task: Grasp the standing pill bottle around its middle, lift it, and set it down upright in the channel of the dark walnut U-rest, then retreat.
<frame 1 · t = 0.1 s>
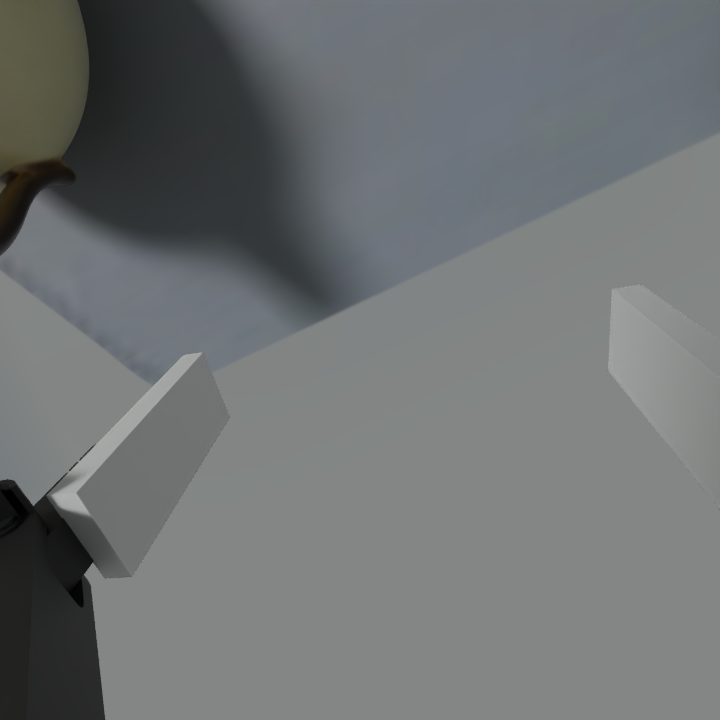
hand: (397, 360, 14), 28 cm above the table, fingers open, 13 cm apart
pitcher: (20, 39, 36), on the table
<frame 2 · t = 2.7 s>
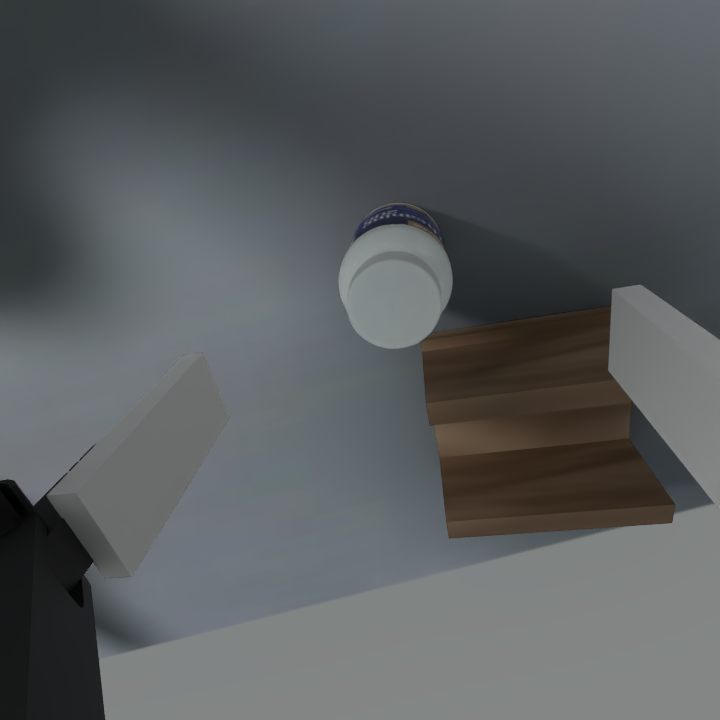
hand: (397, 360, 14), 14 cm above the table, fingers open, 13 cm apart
u rest: (525, 397, 31), on the table
pill bottle: (397, 246, 27), on the table
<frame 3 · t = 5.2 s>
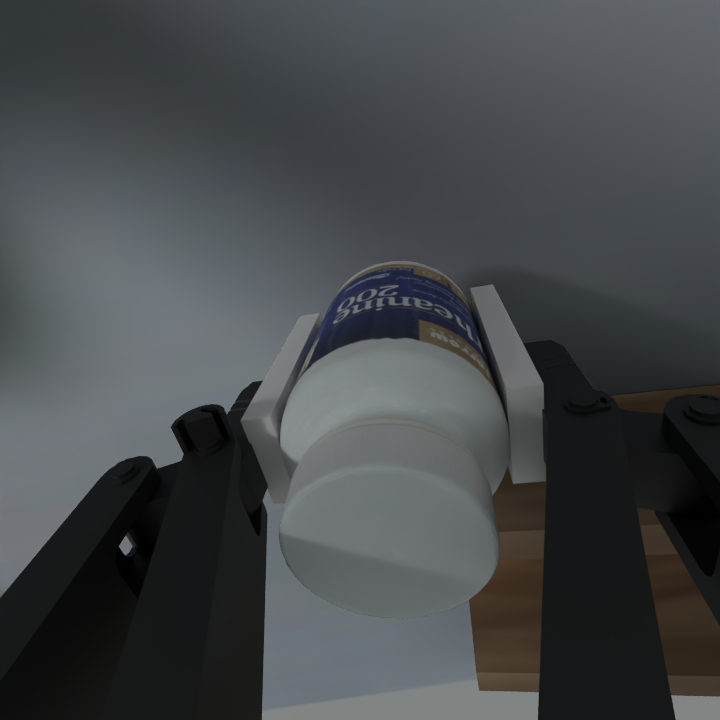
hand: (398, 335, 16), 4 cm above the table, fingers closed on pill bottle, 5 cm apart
u rest: (580, 492, 24), on the table
pill bottle: (398, 325, 17), point 4 cm above the table, touching gripper
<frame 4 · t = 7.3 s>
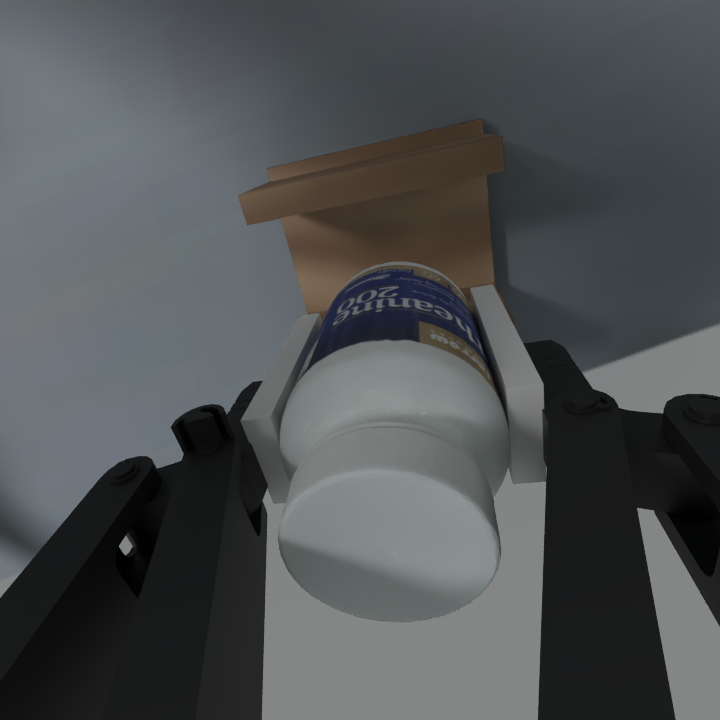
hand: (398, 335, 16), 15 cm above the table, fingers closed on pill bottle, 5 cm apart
u rest: (388, 241, 30), on the table
pill bottle: (398, 326, 16), point 15 cm above the table, touching gripper
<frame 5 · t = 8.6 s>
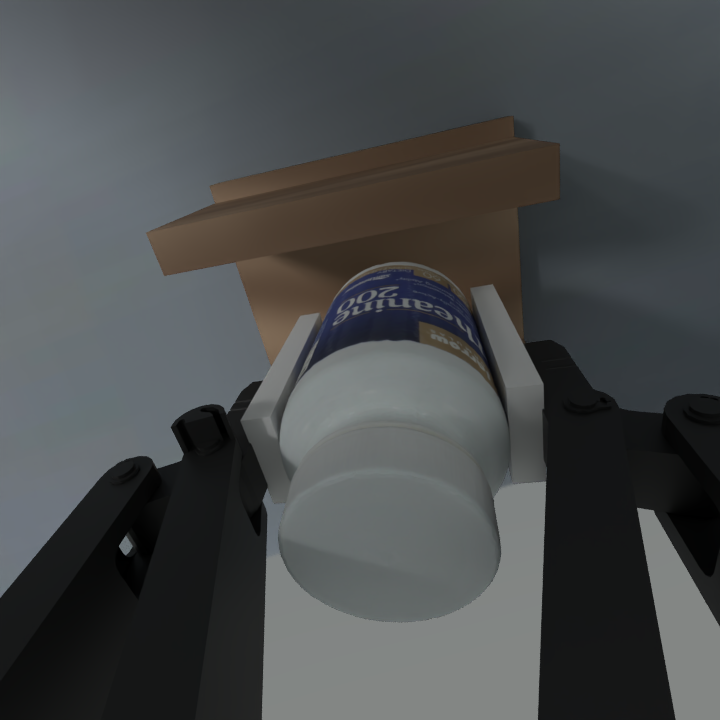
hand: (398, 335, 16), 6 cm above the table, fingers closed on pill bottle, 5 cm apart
u rest: (379, 282, 22), on the table
pill bottle: (398, 326, 17), point 6 cm above the table, touching gripper
when the fingers open (3 cm above the table, at t = 9.7 s): pill bottle drops 1 cm, resting on u rest.
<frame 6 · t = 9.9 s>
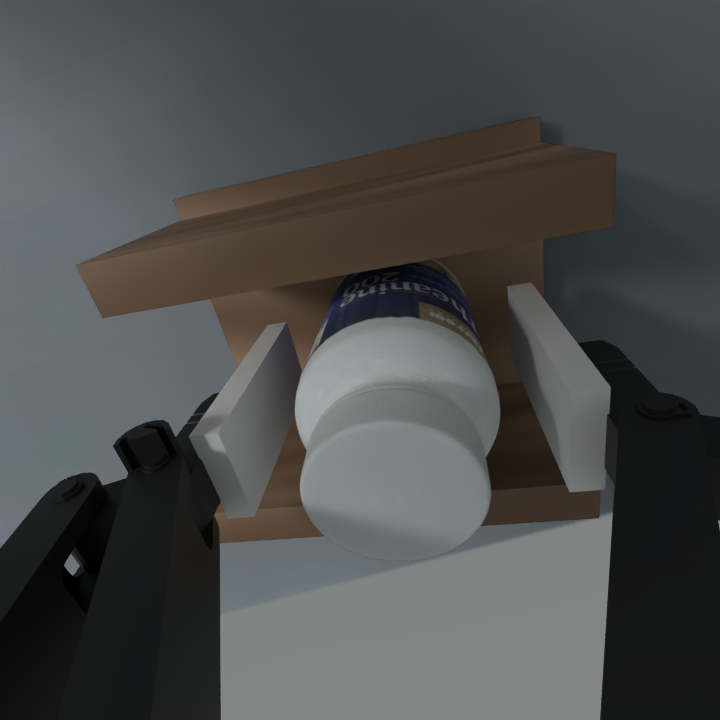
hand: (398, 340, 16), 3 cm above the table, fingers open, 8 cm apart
u rest: (377, 311, 19), on the table
pill bottle: (398, 311, 18), point 1 cm above the table, touching u rest
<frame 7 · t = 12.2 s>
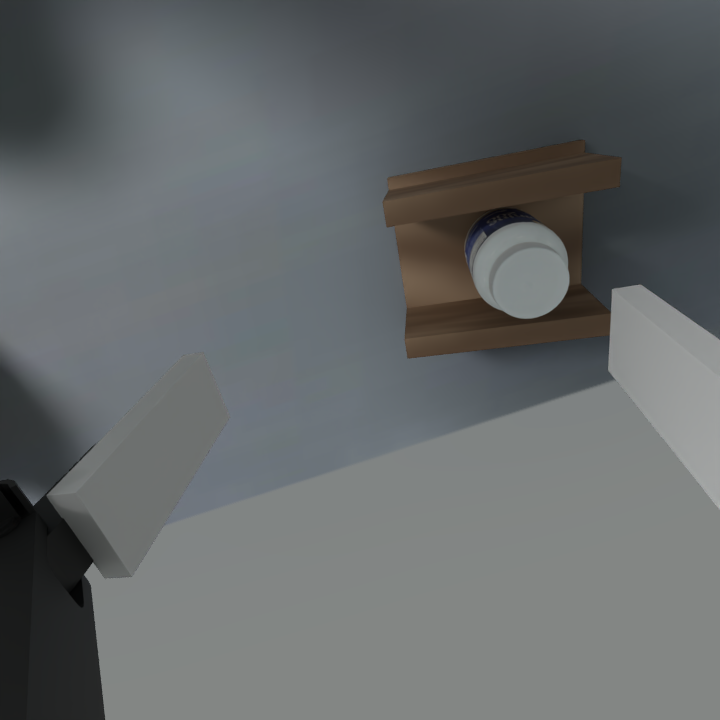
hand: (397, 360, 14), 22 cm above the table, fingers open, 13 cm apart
u rest: (485, 245, 33), on the table
pill bottle: (500, 243, 32), point 1 cm above the table, touching u rest
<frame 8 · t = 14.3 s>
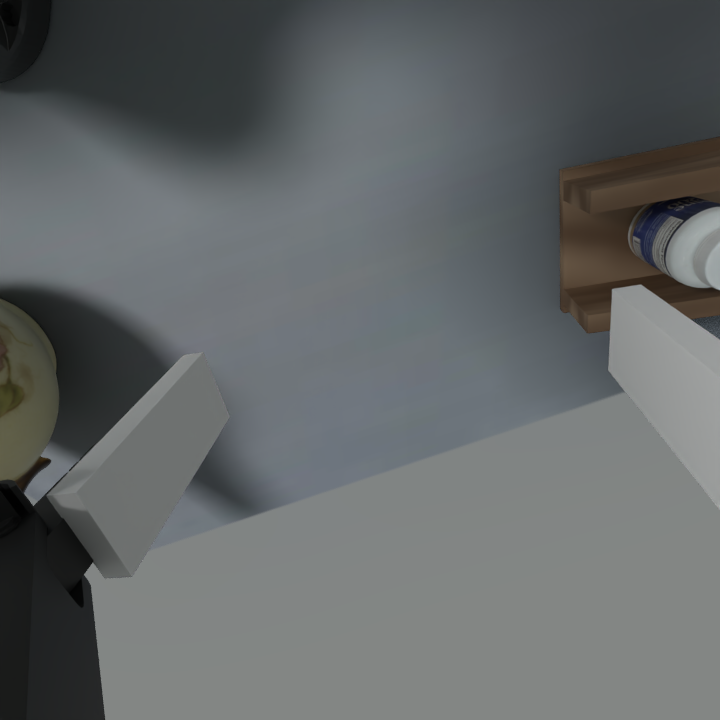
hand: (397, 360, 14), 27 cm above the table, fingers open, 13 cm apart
u rest: (642, 229, 37), on the table
pill bottle: (660, 227, 36), point 1 cm above the table, touching u rest
pitcher: (11, 348, 49), on the table
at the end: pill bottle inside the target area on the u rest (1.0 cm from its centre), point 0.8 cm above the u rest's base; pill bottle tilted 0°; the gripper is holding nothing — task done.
